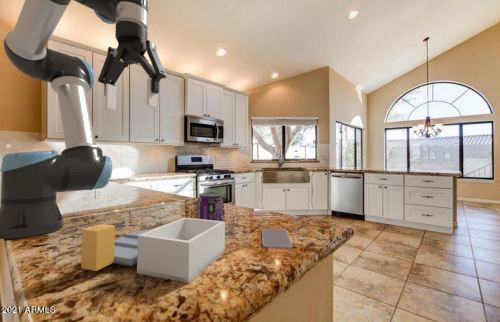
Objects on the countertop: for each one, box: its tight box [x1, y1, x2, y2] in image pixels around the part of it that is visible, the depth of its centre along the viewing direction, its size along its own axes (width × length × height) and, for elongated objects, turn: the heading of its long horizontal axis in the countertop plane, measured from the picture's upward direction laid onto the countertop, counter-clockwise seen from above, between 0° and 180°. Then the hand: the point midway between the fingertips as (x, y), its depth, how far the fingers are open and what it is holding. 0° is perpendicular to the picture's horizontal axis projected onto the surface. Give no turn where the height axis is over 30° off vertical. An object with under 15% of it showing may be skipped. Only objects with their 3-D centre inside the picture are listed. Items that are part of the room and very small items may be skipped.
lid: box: [80, 223, 149, 272], centre depth 51 cm, size 12×20×8 cm, turn 164°
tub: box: [136, 217, 226, 284], centre depth 49 cm, size 11×15×7 cm
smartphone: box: [261, 227, 293, 249], centre depth 65 cm, size 7×1×15 cm
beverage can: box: [196, 192, 224, 222], centre depth 64 cm, size 7×7×12 cm
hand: (130, 108), depth 61 cm, fingers open, 13 cm apart
